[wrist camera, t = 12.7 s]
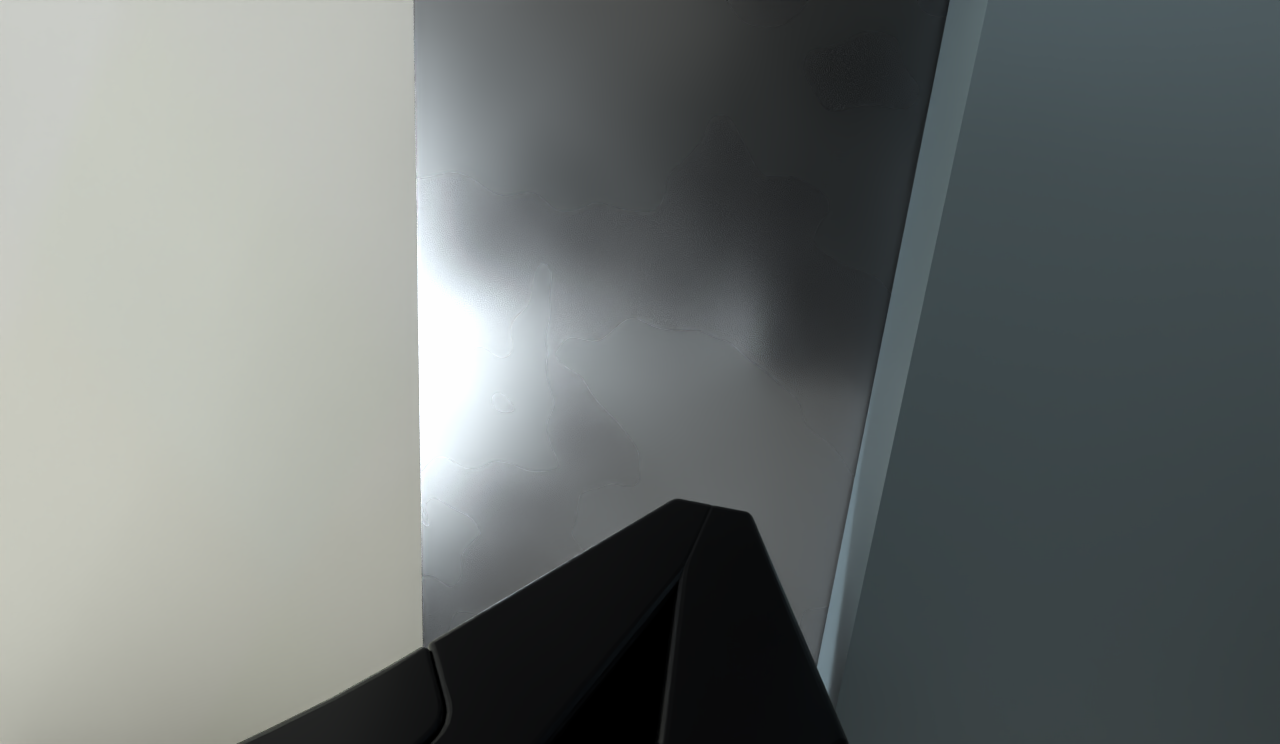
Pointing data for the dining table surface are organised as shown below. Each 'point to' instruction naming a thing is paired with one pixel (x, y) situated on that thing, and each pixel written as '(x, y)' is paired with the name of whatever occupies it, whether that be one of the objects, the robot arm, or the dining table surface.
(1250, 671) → the moving jaw
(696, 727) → the robot arm
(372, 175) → the dining table surface
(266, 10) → the dining table surface
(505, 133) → the vise bed
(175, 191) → the dining table surface
